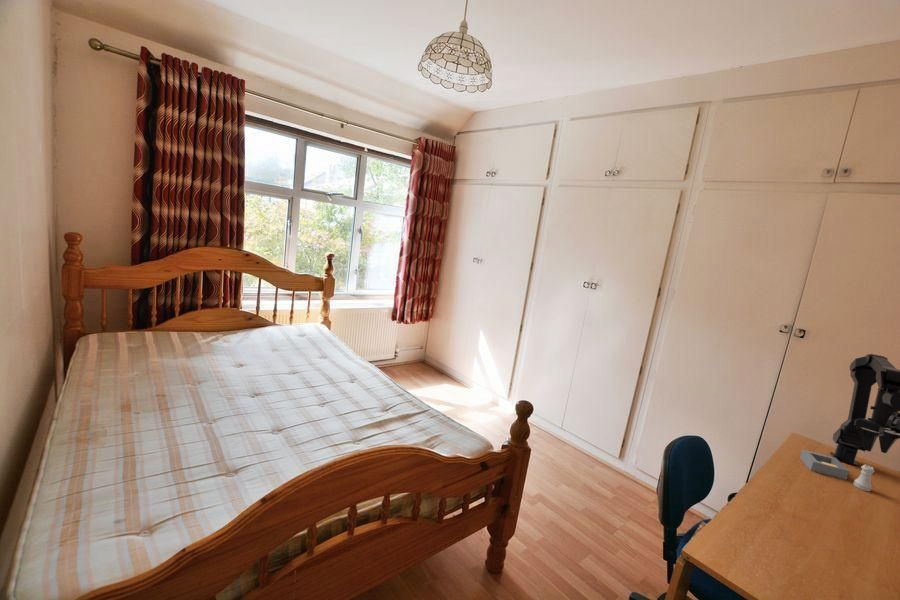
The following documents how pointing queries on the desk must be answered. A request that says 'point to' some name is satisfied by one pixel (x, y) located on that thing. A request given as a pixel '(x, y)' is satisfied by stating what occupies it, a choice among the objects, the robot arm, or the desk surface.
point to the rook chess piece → (864, 478)
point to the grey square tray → (824, 464)
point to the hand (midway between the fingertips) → (875, 451)
